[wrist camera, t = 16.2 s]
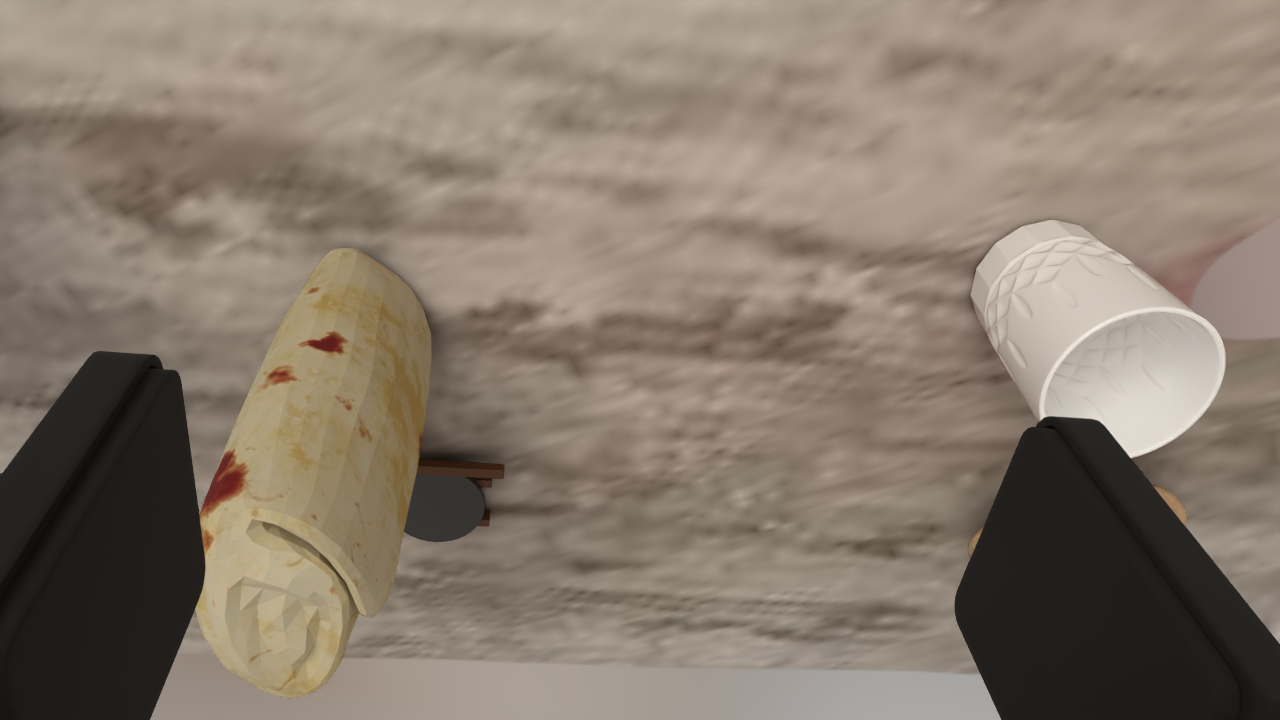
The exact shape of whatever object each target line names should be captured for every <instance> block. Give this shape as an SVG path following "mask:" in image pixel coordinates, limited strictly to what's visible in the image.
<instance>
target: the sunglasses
mask: <svg viewBox="0 0 1280 720" xmlns="http://www.w3.org/2000/svg"><path fill="white" fill-rule="evenodd" d="M492 478H493V479H503V478H504V464H491V463H473V462H456V461H438V460H421V459H419V462H418V468H417V473H416V477H415V482H414V487H413V491H412V496H411V500H410V505H409V510H408V514H407V519H406V524H405V528H404V532H405V533H407V534H409V535H411V536H413V537H415V538H418V539H421V540H426V541H433V542H444V541H451V540H455V539H458V538H461V537H463V536H465V535H467V534H468V533H470V532H471V531H472V530H474V529H475V528H476V527H477V526H489V520H490V510H484V509H485V498H484V494H483V491H482V489H481V487H488V488H491V487H492Z"/></svg>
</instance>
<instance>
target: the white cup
mask: <svg viewBox="0 0 1280 720" xmlns="http://www.w3.org/2000/svg"><path fill="white" fill-rule="evenodd" d="M970 296H971V299H972V302H973V305H974V309H975V312H976V315H977V318H978V320H979V322H980V323H981V325H982V327H983V328H984V330H985V331H986V333H987V334H988V337H989V339H990V341H991V344H992V346H993V347H994V349H995V351H996V353H997V355H998V356H999V358H1000V359H1001V361H1002V363H1003V365H1004V367H1005V369H1006V370H1007V372H1008V374H1009V375H1010V377H1011V379H1012V380H1013V382H1014V384H1015V385H1016V387H1017V388H1018V390H1019V392H1020V393H1021V395H1022V396H1023V398H1024V400H1025V401H1026V403H1027V404H1028V406H1029V408H1030V409H1031V411H1032V413H1033V414H1034V416H1035V417H1036V419H1037V421H1038V422H1040V421H1041V420H1042V419H1043V418H1045V417H1048V416H1057V417H1072V418H1086V419H1094V420H1098V421H1100V422H1101V423H1102V424H1103V425H1104V426H1105V427H1106V428H1107V429H1108V430H1109V432H1110V433H1111V434H1112V435H1113V437H1114V438H1115V439H1116V440H1117V442H1118V443H1119V444H1120V445H1121V447H1122V448H1123V449H1124V450H1125V452H1126V453H1127V454H1128V455H1129V457H1130V458H1134V457H1137V456H1140V455H1143V454H1146V453H1149V452H1151V451H1153V450H1156V449H1158V448H1160V447H1162V446H1164V445H1165V444H1167V443H1169V442H1171V441H1172V440H1174V439H1175V438H1177V437H1178V436H1180V435H1181V434H1182V433H1184V432H1185V431H1186V430H1187V429H1189V428H1190V427H1191V426H1192V425H1193V424H1194V423H1195V422H1196V421H1197V420H1198V419H1199V418H1200V417H1201V416H1202V415H1203V413H1204V412H1205V411H1206V410H1207V408H1208V407H1209V406H1210V404H1211V403H1212V401H1213V400H1214V398H1215V396H1216V394H1217V392H1218V390H1219V388H1220V386H1221V383H1222V380H1223V376H1224V372H1225V365H1226V356H1225V349H1224V345H1223V342H1222V339H1221V337H1220V335H1219V334H1218V332H1217V331H1216V329H1215V328H1214V327H1213V326H1212V325H1211V324H1210V323H1209V322H1208V321H1207V320H1205V319H1204V318H1203V317H1202V316H1200V315H1199V314H1198V313H1196V312H1195V311H1194V310H1193V309H1191V308H1190V307H1189V306H1187V305H1186V304H1185V303H1184V302H1182V301H1181V300H1180V299H1178V298H1177V297H1176V296H1175V295H1173V294H1172V293H1171V292H1170V291H1168V290H1167V289H1166V288H1165V287H1163V286H1162V285H1161V284H1160V283H1158V282H1157V281H1156V280H1155V279H1153V278H1152V277H1151V276H1149V275H1148V274H1147V273H1146V272H1144V271H1143V270H1142V269H1141V268H1139V267H1138V266H1136V265H1135V264H1133V263H1132V262H1131V261H1129V260H1128V259H1127V258H1125V257H1124V256H1122V255H1121V254H1120V253H1119V252H1117V251H1115V250H1113V249H1111V248H1109V247H1107V246H1106V245H1104V244H1103V243H1101V242H1100V241H1099V240H1098V239H1096V238H1095V237H1094V236H1093V235H1092V234H1090V233H1089V232H1088V231H1087V230H1085V229H1084V228H1083V227H1082V226H1080V225H1076V224H1071V223H1067V222H1062V221H1057V220H1047V221H1043V222H1038V223H1034V224H1029V225H1024V226H1021V227H1020V228H1018V229H1017V230H1015V231H1013V232H1012V233H1010V234H1009V235H1007V236H1006V237H1004V238H1003V239H1001V240H999V241H998V242H996V243H995V244H994V245H993V247H992V248H991V249H990V251H989V252H988V253H987V255H986V256H985V257H984V259H983V260H982V261H981V263H980V264H979V265H978V267H977V268H976V272H975V276H974V281H973V285H972V290H971V294H970Z"/></svg>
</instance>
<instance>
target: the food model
mask: <svg viewBox="0 0 1280 720" xmlns="http://www.w3.org/2000/svg"><path fill="white" fill-rule="evenodd" d="M431 360H432V349H431V332H430V329H429V326H428V323H427V320H426V316H425V313H424V310H423V308H422V306H421V304H420V302H419V301H418V299H417V297H416V296H415V294H414V292H413V290H412V289H411V288H410V287H409V286H408V285H407V284H406V283H405V282H404V281H403V280H401V279H400V278H399V277H398V276H397V275H396V274H394V273H393V272H392V271H390V270H389V269H387V268H386V267H384V266H383V265H381V264H380V263H378V262H377V261H376V260H374V259H373V258H371V257H370V256H368V255H366V254H365V253H363V252H362V251H360V250H358V249H354V248H338V249H333V250H330V251H329V252H328V254H327V255H326V256H325V257H324V258H323V259H322V260H321V261H320V262H319V263H318V265H317V267H316V268H315V270H314V271H313V273H312V275H311V276H310V278H309V280H308V281H307V283H306V284H305V286H304V287H303V289H302V290H301V292H300V293H299V295H298V296H297V298H296V299H295V300H294V302H293V303H292V305H291V307H290V308H289V310H288V312H287V313H286V315H285V317H284V319H283V321H282V323H281V325H280V327H279V329H278V331H277V333H276V335H275V337H274V339H273V341H272V343H271V346H270V348H269V350H268V352H267V354H266V356H265V359H264V361H263V363H262V365H261V367H260V369H259V372H258V374H257V376H256V378H255V380H254V382H253V384H252V387H251V389H250V391H249V393H248V395H247V398H246V400H245V402H244V404H243V407H242V409H241V411H240V413H239V416H238V418H237V420H236V422H235V425H234V427H233V429H232V432H231V434H230V437H229V439H228V442H227V444H226V447H225V449H224V452H223V454H222V457H221V460H220V462H219V465H218V468H217V470H216V473H215V476H214V478H213V481H212V483H211V486H210V488H209V491H208V493H207V496H206V498H205V501H204V504H203V506H202V509H201V512H200V514H199V516H200V524H201V531H202V539H203V546H204V553H205V564H206V568H205V579H204V585H203V589H202V592H201V595H200V598H199V601H198V603H197V605H196V608H195V610H196V614H197V618H198V621H199V625H200V629H201V632H202V634H203V635H204V637H205V639H206V641H207V642H208V643H209V645H210V646H211V648H212V649H213V651H214V652H215V654H216V655H217V657H218V658H219V660H220V661H221V662H222V664H223V665H224V667H225V668H226V669H228V670H230V671H231V672H233V673H234V674H236V675H238V676H239V677H241V678H243V679H244V680H246V681H248V682H249V683H251V684H252V685H254V686H255V687H257V688H259V689H260V690H262V691H264V692H266V693H269V694H272V695H275V696H278V697H281V698H288V699H289V698H298V697H301V696H304V695H307V694H310V693H313V692H315V691H317V690H318V689H319V688H321V687H322V686H324V685H325V684H326V683H327V682H328V681H329V679H330V678H331V677H332V675H333V674H334V672H335V671H336V669H337V668H338V666H339V664H340V662H341V661H342V658H343V655H344V652H345V649H346V646H347V643H348V640H349V637H350V634H351V632H352V630H353V627H354V625H355V622H356V620H357V617H358V615H359V613H361V614H362V615H363V616H366V617H369V618H373V617H374V616H375V615H376V614H377V612H378V611H379V610H380V609H381V608H382V606H383V605H384V604H385V603H386V602H387V599H388V596H389V594H390V591H391V588H392V586H393V583H394V580H395V576H396V571H397V565H398V559H399V553H400V548H401V542H402V538H403V533H404V528H405V524H406V519H407V514H408V510H409V505H410V500H411V496H412V491H413V487H414V482H415V477H416V473H417V468H418V462H419V456H420V450H421V442H422V434H423V427H424V421H425V415H426V408H427V401H428V395H429V385H430V374H431Z"/></svg>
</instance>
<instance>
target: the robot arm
mask: <svg viewBox="0 0 1280 720" xmlns="http://www.w3.org/2000/svg"><path fill="white" fill-rule="evenodd" d="M205 568H206V564H205V553H204V546H203V539H202V531H201V524H200V516H199V509H198V502H197V494H196V487H195V479H194V472H193V465H192V457H191V450H190V442H189V435H188V428H187V420H186V413H185V405H184V398H183V391H182V384H181V379H180V376H179V374H178V372H177V371H175V370H164V369H163V366H162V363H161V361H160V359H159V358H158V357H157V356H155V355H149V354H134V353H119V352H105V351H98V352H94V353H93V354H92V355H91V356H90V357H89V358H88V359H87V360H86V362H85V363H84V364H83V366H82V367H81V369H80V370H79V371H78V373H77V374H76V375H75V377H74V378H73V379H72V381H71V382H70V383H69V385H68V386H67V387H66V389H65V390H64V391H63V393H62V394H61V395H60V397H59V398H58V399H57V401H56V402H55V403H54V405H53V406H52V407H51V409H50V410H49V411H48V413H47V414H46V415H45V417H44V418H43V420H42V421H41V422H40V424H39V425H38V426H37V428H36V429H35V430H34V432H33V433H32V434H31V436H30V437H29V438H28V440H27V441H26V442H25V444H24V445H23V446H22V448H21V449H20V450H19V452H18V453H17V454H16V456H15V457H14V458H13V460H12V461H11V462H10V464H9V465H8V467H7V468H6V469H5V471H4V472H3V473H2V474H1V473H0V720H150V718H151V716H152V713H153V711H154V708H155V706H156V703H157V701H158V698H159V696H160V693H161V691H162V689H163V686H164V684H165V681H166V679H167V676H168V674H169V672H170V669H171V667H172V664H173V662H174V659H175V657H176V654H177V652H178V650H179V647H180V645H181V642H182V640H183V637H184V635H185V632H186V630H187V628H188V625H189V623H190V620H191V618H192V615H193V613H194V610H195V608H196V605H197V603H198V601H199V598H200V595H201V592H202V589H203V585H204V579H205ZM955 615H956V620H957V623H958V626H959V628H960V630H961V632H962V634H963V637H964V639H965V641H966V643H967V645H968V648H969V650H970V652H971V654H972V656H973V659H974V661H975V663H976V665H977V667H978V670H979V672H980V674H981V676H982V678H983V680H984V683H985V685H986V687H987V689H988V691H989V693H990V696H991V698H992V700H993V702H994V705H995V707H996V709H997V711H998V713H999V715H1000V717H1001V720H1280V644H1279V643H1278V641H1277V640H1276V639H1275V638H1274V636H1273V635H1272V634H1271V633H1270V631H1269V630H1268V629H1267V628H1266V626H1265V625H1264V624H1263V623H1262V621H1261V620H1260V619H1259V618H1258V616H1257V615H1256V614H1255V613H1254V611H1253V610H1252V609H1251V608H1250V606H1249V605H1248V604H1247V603H1246V601H1245V600H1244V599H1243V598H1242V597H1241V595H1240V594H1239V593H1238V592H1237V590H1236V589H1235V588H1234V587H1233V585H1232V584H1231V583H1230V582H1229V580H1228V579H1227V578H1226V577H1225V575H1224V574H1223V573H1222V572H1221V570H1220V569H1219V568H1218V567H1217V565H1216V564H1215V563H1214V562H1213V560H1212V559H1211V558H1210V557H1209V555H1208V554H1207V553H1206V552H1205V550H1204V549H1203V548H1202V547H1201V545H1200V544H1199V543H1198V542H1197V540H1196V539H1195V538H1194V537H1193V535H1192V534H1191V533H1190V532H1189V530H1188V529H1187V528H1186V527H1185V525H1184V524H1183V523H1182V522H1181V520H1180V519H1179V518H1178V517H1177V515H1176V514H1175V513H1174V512H1173V510H1172V509H1171V508H1170V507H1169V505H1168V504H1167V503H1166V502H1165V500H1164V499H1163V498H1162V497H1161V495H1160V494H1159V493H1158V492H1157V490H1156V489H1155V488H1154V487H1153V485H1152V484H1151V483H1150V482H1149V480H1148V479H1147V478H1146V477H1145V475H1144V474H1143V473H1142V472H1141V470H1140V469H1139V468H1138V467H1137V465H1136V464H1135V463H1134V462H1133V460H1132V459H1131V458H1130V457H1129V455H1128V454H1127V453H1126V452H1125V450H1124V449H1123V448H1122V447H1121V445H1120V444H1119V443H1118V442H1117V440H1116V439H1115V438H1114V437H1113V435H1112V434H1111V433H1110V432H1109V430H1108V429H1107V428H1106V427H1105V426H1104V425H1103V424H1102V423H1101V422H1100V421H1098V420H1094V419H1086V418H1072V417H1057V416H1048V417H1045V418H1043V419H1042V420H1041V421H1040V422H1039V423H1038V424H1037V426H1036V427H1032V428H1028V429H1027V430H1026V431H1025V432H1024V433H1023V435H1022V437H1021V438H1020V441H1019V443H1018V446H1017V448H1016V450H1015V453H1014V455H1013V458H1012V460H1011V462H1010V465H1009V467H1008V470H1007V472H1006V474H1005V477H1004V479H1003V482H1002V484H1001V486H1000V489H999V491H998V494H997V496H996V498H995V501H994V503H993V506H992V508H991V510H990V513H989V515H988V518H987V520H986V522H985V525H984V527H983V530H982V532H981V534H980V537H979V539H978V542H977V544H976V546H975V549H974V551H973V554H972V556H971V558H970V561H969V563H968V566H967V568H966V570H965V573H964V575H963V578H962V580H961V582H960V585H959V587H958V590H957V593H956V596H955Z"/></svg>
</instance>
